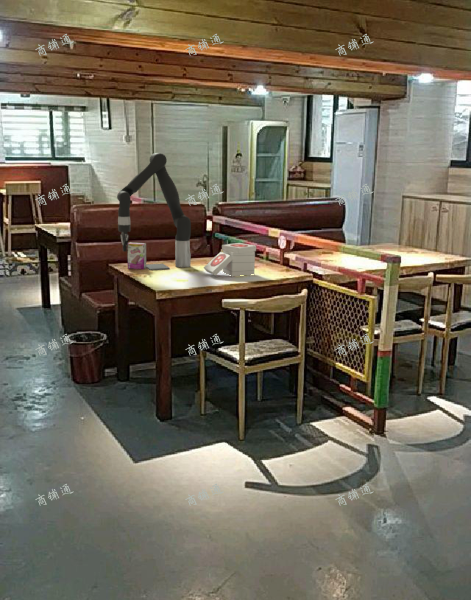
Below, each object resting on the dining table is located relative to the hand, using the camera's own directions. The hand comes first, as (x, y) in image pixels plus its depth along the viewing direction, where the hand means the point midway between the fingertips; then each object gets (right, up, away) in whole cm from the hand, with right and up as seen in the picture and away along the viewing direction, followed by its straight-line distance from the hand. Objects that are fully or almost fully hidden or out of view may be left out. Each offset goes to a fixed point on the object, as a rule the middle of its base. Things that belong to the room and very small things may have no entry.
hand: (124, 251), depth 394 cm
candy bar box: (+7, -11, +6) cm, 14 cm away
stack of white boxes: (+67, -15, -7) cm, 69 cm away
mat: (+19, -10, +10) cm, 24 cm away
